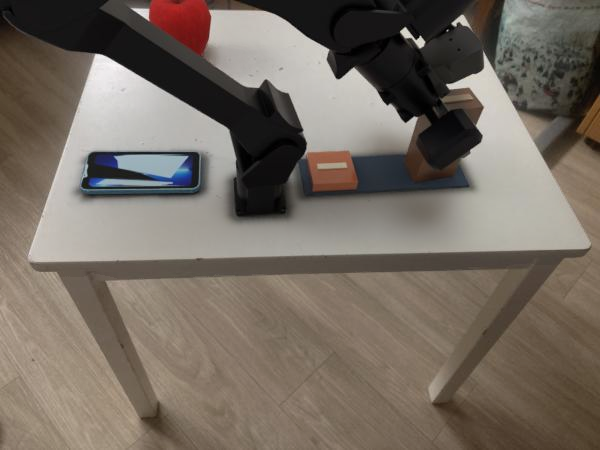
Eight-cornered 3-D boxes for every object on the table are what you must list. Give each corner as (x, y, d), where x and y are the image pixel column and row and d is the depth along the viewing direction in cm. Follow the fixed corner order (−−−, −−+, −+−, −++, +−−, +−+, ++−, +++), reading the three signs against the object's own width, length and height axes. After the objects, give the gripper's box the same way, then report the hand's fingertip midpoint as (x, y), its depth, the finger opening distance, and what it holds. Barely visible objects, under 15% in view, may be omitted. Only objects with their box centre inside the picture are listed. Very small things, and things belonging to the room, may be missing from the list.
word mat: (304, 196, 64) (305, 194, 64) (298, 161, 68) (298, 159, 68) (468, 186, 67) (469, 184, 67) (453, 154, 71) (454, 152, 71)
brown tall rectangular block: (414, 182, 67) (440, 111, 57) (403, 162, 69) (426, 90, 59) (453, 176, 68) (485, 105, 58) (441, 157, 70) (469, 85, 61)
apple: (225, 59, 83) (221, -4, 74) (177, 79, 78) (167, 14, 70) (192, 34, 87) (185, -29, 78) (144, 52, 82) (131, -13, 74)
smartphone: (199, 189, 63) (77, 190, 61) (200, 194, 63) (79, 196, 61) (201, 150, 67) (88, 150, 65) (201, 155, 68) (89, 155, 66)
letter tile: (312, 191, 64) (313, 183, 63) (306, 160, 68) (306, 151, 67) (356, 189, 65) (358, 180, 64) (347, 158, 69) (349, 149, 67)
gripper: (500, 63, 44) (548, 141, 55) (418, -31, 55) (472, 49, 66) (400, 140, 48) (463, 198, 59) (343, 39, 59) (405, 103, 70)
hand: (451, 132), depth 63 cm, fingers open, 8 cm apart
